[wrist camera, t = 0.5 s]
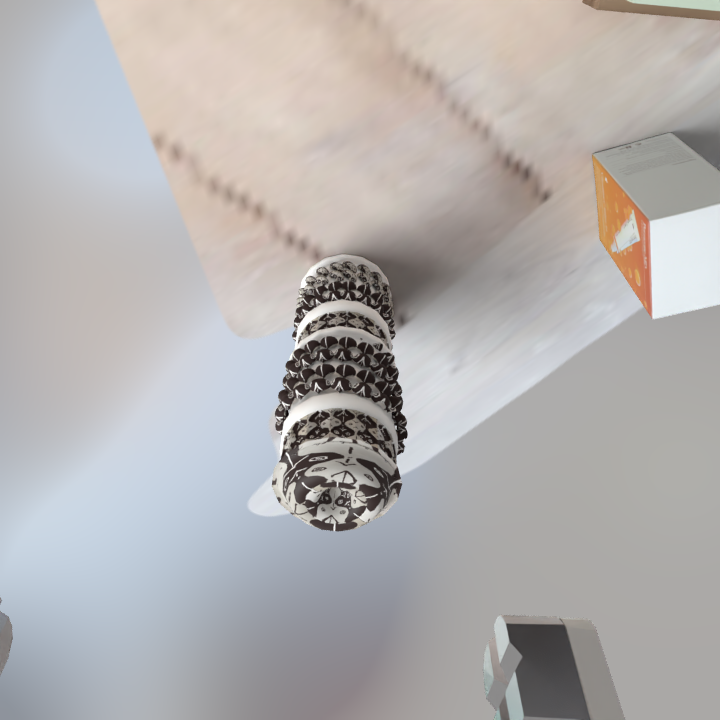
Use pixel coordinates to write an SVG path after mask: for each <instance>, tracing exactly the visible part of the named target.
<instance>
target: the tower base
mask: <svg viewBox="0 0 720 720" xmlns="http://www.w3.org/2000/svg"><path fill="white" fill-rule="evenodd" d="M582 2H583V3H585V4H587V5H589V6H591V7H593V8H595V9H597V10H606V11H617V12H629V13H640V14H651V15H663V16H674V17H686V18H697V19H708V20H720V11H713V10H702V9H691V8H680V7H670V6H659V5H648V4H637V3H632V2H629V1H627V0H583V1H582Z"/></svg>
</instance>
